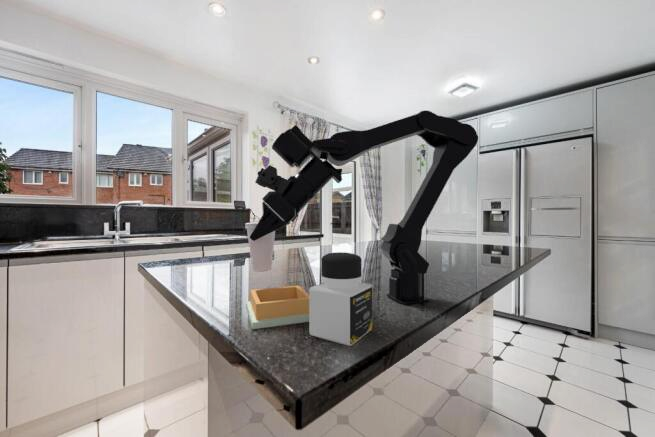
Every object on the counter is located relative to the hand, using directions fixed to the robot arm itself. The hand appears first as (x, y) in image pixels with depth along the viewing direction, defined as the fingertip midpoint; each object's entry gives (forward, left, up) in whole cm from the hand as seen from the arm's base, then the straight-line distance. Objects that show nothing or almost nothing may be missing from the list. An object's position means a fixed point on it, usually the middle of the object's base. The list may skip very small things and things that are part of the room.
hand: (254, 237), depth 58 cm
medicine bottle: (-11, +20, -13) cm, 26 cm away
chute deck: (-8, +8, -13) cm, 17 cm away
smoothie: (-1, 0, -7) cm, 7 cm away
